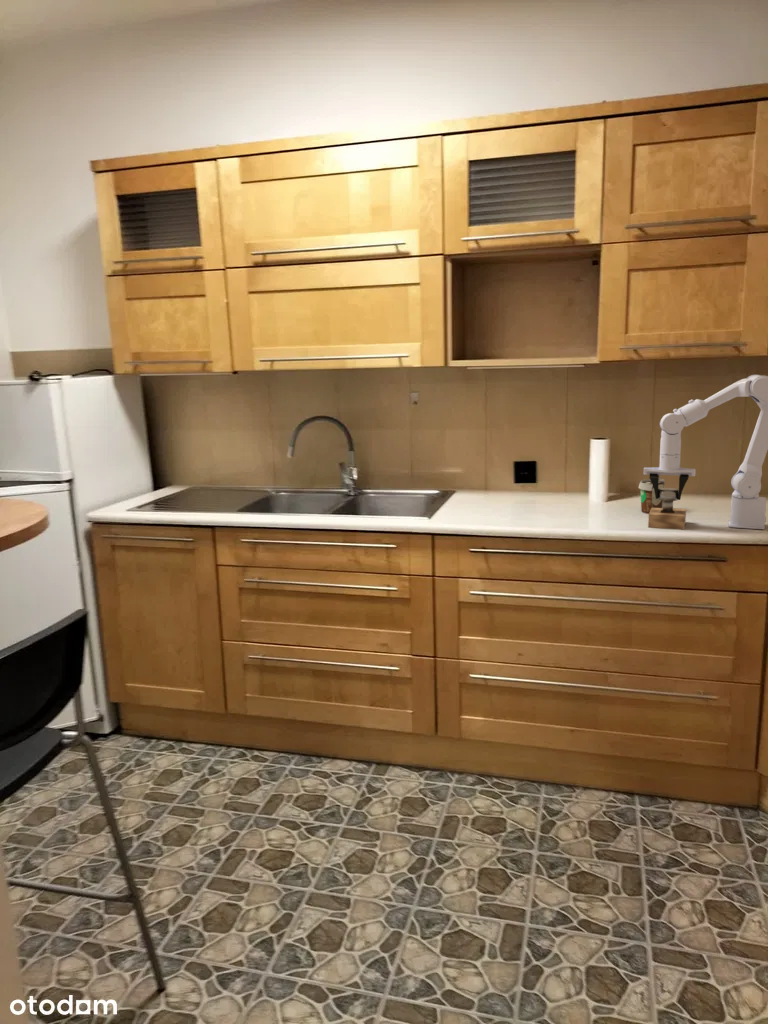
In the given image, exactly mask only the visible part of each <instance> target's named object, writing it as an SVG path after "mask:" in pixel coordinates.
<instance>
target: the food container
mask: <svg viewBox="0 0 768 1024" xmlns="http://www.w3.org/2000/svg"><path fill="white" fill-rule="evenodd" d="M665 485H666V481H665V478H659V485H658V489H660V488H665ZM638 489H639V490H640V509H641V512H642V513H644V514H646V515H649V512H650V510H651V508H662V507H663V501H661V500H658V499H656V497H655V491H654V488H653V485H652V482H651V480H650V478H646V479H642V480H640V482H639V485H638Z"/></svg>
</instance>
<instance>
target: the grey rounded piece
mask: <svg viewBox="0 0 768 1024" xmlns="http://www.w3.org/2000/svg"><path fill="white" fill-rule="evenodd" d="M678 492H679V488H674V487H664V488H660V489H659V490H658V500H661V501H663V507H662V511H665V512H671V511H673V509H674V502H675V501H679V500H678Z"/></svg>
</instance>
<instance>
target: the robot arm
mask: <svg viewBox="0 0 768 1024" xmlns="http://www.w3.org/2000/svg"><path fill="white" fill-rule="evenodd" d="M739 397H740V398H742V397H743V398H745V397H748V398H749V397H750V398H751V399H753V400H754V402H755V403H756V405H757V406H758V408H759V409H760V412H759V415H758V418H757V421H756V424H755V427H754V429H753V433H752V435H751V438H750V441H749V444H748V447H747V451H746V453H745V455H744V459H743V461H742V463H741V464H740V465H739V467H738V470H737V471H736V473H735V474H734V475H733V476H732V478H731V480H730V481H731V482H730V485H731V487H732V489H733V492H732V493H731V502H730V514H729V515H730V520H728V521H727V523H728V528H734V529H754V530H755V529H756V530H765V525H766V522H767V516H766V511H767V498H766V497H763V496H760V494H759V493H760V492H761V489H762V483H761V481H762V480H761V479H762V477H763V471H762V470H763V468H762V467H763V464H764V461H765V459H766V456H767V453H768V375H761V374H752V375H749V376H747V377H746V378H742V379H739V380H737V381H735V382H734V383H732V384H730V385H728V386H726V387H725V388H723V389H721V390H720V391H718V392H716V393H714V394H713V395H710V396H708V397H707V398H706V399H704V400H703V399H699V398H696V399H695V400H694V399H690V400H688V403H686V404H685V405H683V406H681V407H679V408H678V409H677V408H674V409H673V410H672V412H669V413H666V414H664V415H663V416H662V418H661V419H660V421H659V427H660V429H661V433H660V436H661V437H660V442H659V443H660V444H659V445H660V446H659V447H660V448H659V466H658V467H657V466H656V467H643V475H645V476H647V475H649V476H648V477H649V478H648V479H650V480H651V482H652V485H653V488H654V491H655V497H656V499H658V490H659V489H658V485H659V479H660V476H679V479H678V500H677V501H680V500H681V498H682V493H683V490H684V487H685V486H686V483H687V482H688V481H689V477H696V468H687V467H681V453H682V452H681V450H682V449H681V447H682V438H681V436H682V431H683V429H684V427H689V426H690V425H693V424H694V423H696V422H698V421H700V420H703V419H704V418H706V417H707V416H708V414H709V411H710V410H712V409H714V408H716V407H718V406H720V405H723V404H724V403H726V402H728V401H730V400H731V401H732V400H733V399H735V398H739Z"/></svg>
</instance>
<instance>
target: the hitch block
mask: <svg viewBox="0 0 768 1024" xmlns="http://www.w3.org/2000/svg"><path fill="white" fill-rule="evenodd" d="M686 514H687V509H686V508H673V511H671V512H665V511H662V508H651V510H650V512H649V514H648V524H647V528H655V529H671V530H685V526H686V520H687V519H686V517H687V516H686Z"/></svg>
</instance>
